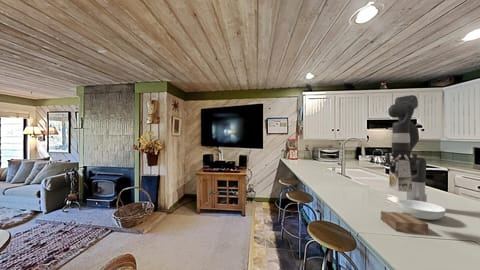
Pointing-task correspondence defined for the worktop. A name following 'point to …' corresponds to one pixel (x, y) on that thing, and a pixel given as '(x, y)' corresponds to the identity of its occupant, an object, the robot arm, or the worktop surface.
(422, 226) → the walnut block
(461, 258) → the worktop surface
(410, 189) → the coffee box
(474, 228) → the worktop surface
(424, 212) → the serving bowl
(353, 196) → the worktop surface
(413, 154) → the robot arm
